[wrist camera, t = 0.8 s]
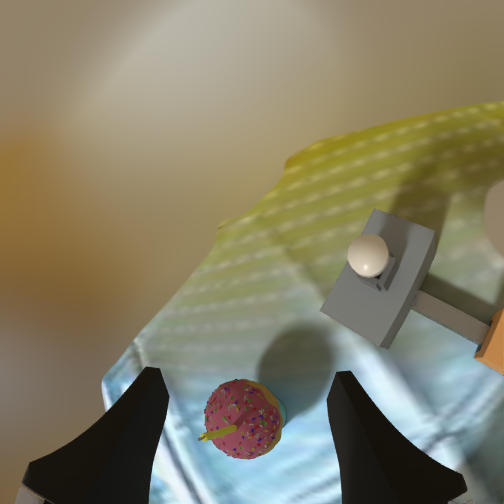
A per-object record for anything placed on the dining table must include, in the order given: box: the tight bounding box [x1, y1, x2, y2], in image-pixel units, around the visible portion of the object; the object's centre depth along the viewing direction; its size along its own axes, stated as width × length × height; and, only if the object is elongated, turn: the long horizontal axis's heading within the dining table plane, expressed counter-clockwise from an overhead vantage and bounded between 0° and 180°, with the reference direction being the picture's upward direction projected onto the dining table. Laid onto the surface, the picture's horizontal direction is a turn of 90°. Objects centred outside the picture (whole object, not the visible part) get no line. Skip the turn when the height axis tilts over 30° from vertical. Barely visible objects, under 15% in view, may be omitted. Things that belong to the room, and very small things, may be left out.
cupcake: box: [198, 379, 286, 460], centre depth 21 cm, size 9×8×12 cm
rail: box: [409, 289, 490, 347], centre depth 14 cm, size 20×4×3 cm, turn 53°
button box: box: [319, 209, 436, 349], centre depth 21 cm, size 6×10×7 cm, turn 143°
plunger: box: [348, 234, 390, 278], centre depth 18 cm, size 3×3×3 cm
